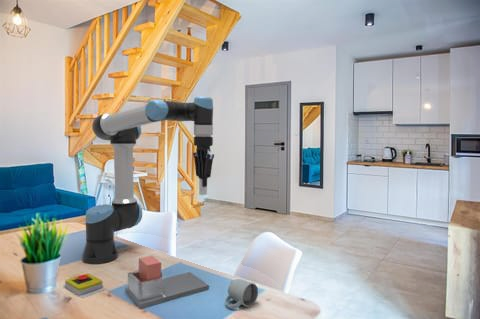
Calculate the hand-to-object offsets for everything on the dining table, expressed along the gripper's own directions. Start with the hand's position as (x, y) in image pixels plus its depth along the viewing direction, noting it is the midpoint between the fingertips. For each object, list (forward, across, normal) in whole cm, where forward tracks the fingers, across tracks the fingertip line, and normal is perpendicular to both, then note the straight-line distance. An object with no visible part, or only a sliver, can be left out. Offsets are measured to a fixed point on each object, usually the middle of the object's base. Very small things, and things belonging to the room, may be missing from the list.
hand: (203, 194), depth 145 cm
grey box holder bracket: (+31, -7, +27) cm, 42 cm away
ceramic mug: (+33, -30, +3) cm, 45 cm away
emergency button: (+33, +12, +43) cm, 56 cm away
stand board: (+32, -8, +19) cm, 38 cm away
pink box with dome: (+31, -7, +25) cm, 40 cm away
